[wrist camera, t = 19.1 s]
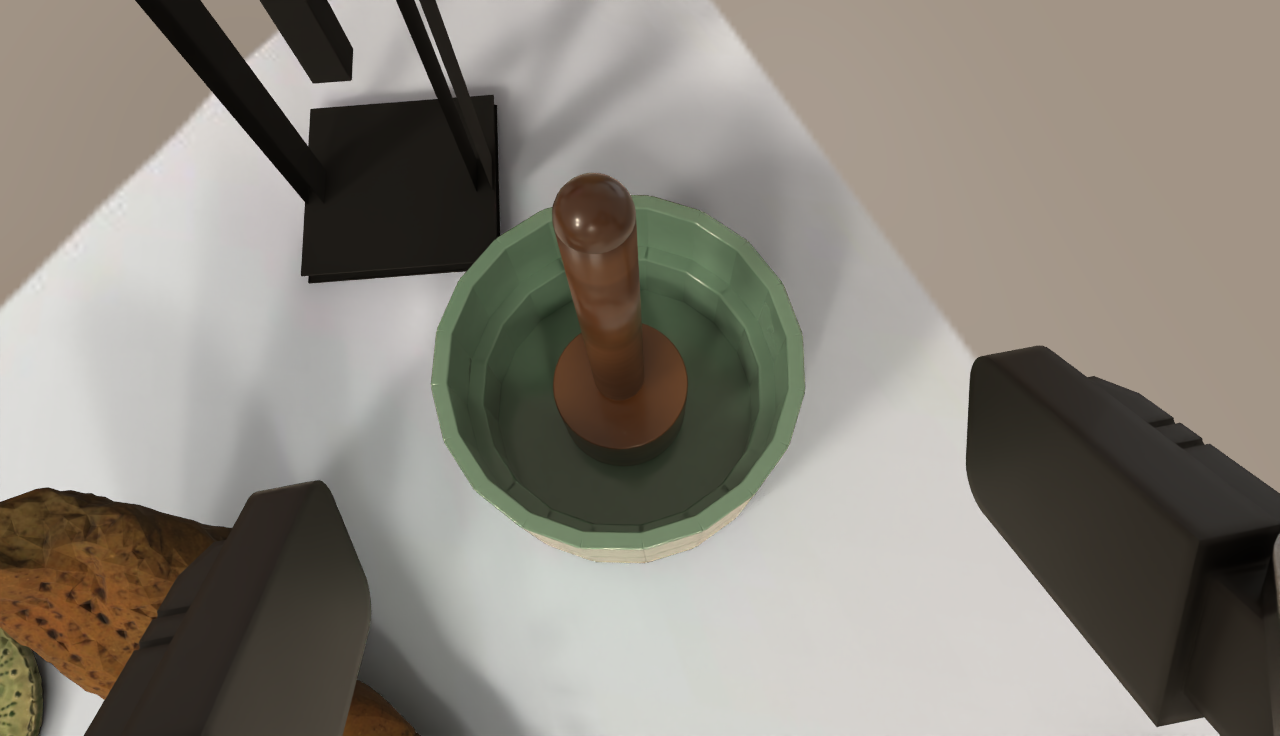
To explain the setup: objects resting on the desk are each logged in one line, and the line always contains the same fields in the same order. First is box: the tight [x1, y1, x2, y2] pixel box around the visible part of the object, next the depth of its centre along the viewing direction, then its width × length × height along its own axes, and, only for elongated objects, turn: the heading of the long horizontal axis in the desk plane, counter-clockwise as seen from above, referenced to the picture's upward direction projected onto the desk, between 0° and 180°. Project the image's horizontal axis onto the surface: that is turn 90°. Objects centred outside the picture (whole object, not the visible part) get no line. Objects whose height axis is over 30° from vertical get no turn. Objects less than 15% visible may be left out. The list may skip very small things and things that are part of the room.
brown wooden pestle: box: [552, 173, 688, 466], centre depth 22 cm, size 4×4×15 cm
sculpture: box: [0, 488, 421, 736], centre depth 22 cm, size 8×10×15 cm
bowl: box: [431, 195, 805, 563], centre depth 26 cm, size 11×11×6 cm
